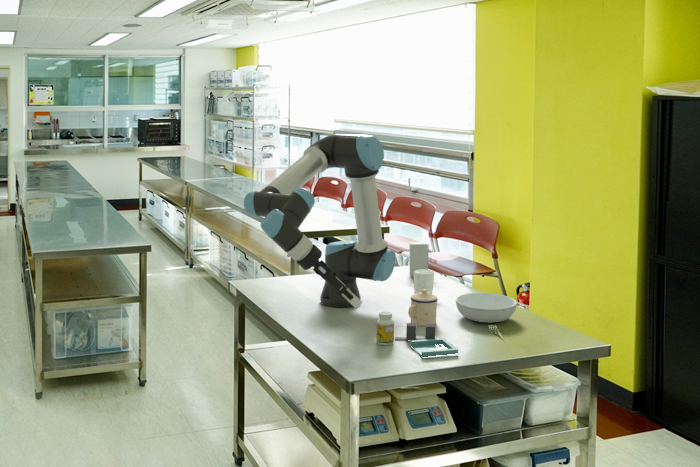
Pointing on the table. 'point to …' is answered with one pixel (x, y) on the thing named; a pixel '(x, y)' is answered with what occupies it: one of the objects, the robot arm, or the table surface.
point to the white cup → (423, 280)
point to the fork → (493, 326)
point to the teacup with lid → (423, 308)
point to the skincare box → (418, 256)
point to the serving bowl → (486, 307)
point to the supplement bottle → (385, 329)
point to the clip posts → (412, 332)
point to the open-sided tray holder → (424, 345)
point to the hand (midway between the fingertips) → (353, 299)
